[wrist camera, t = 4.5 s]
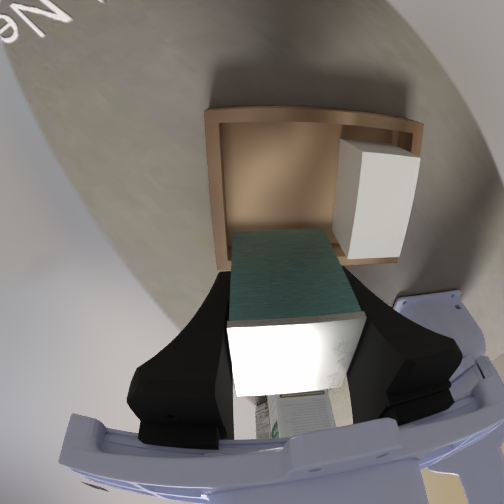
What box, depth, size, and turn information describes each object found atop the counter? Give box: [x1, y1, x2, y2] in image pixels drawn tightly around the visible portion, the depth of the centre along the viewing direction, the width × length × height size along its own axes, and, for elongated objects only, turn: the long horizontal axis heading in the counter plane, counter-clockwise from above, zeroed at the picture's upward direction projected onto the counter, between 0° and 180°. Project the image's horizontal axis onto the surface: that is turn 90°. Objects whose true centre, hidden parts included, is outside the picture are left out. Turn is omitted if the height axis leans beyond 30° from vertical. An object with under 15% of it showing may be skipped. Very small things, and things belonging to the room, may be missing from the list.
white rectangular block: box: [331, 138, 421, 259], centre depth 18 cm, size 4×7×4 cm, turn 1°
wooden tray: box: [204, 106, 424, 270], centre depth 19 cm, size 14×11×2 cm
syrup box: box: [267, 389, 336, 438], centre depth 26 cm, size 6×6×14 cm
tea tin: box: [227, 228, 367, 396], centre depth 12 cm, size 4×4×6 cm
